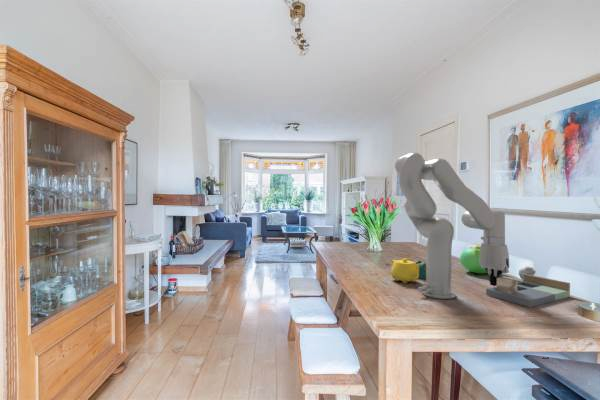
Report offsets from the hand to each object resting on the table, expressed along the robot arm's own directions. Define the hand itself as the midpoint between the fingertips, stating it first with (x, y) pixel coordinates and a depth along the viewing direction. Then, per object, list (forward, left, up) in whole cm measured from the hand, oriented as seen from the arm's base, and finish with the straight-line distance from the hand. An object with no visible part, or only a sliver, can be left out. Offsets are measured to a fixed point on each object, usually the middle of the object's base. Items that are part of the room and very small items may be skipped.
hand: (494, 284), depth 127 cm
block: (0, -5, -1) cm, 5 cm away
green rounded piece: (+29, +26, -4) cm, 39 cm away
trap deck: (+10, -7, -4) cm, 13 cm away
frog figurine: (+34, +6, -4) cm, 34 cm away
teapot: (-18, +31, -4) cm, 36 cm away
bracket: (+1, +33, -4) cm, 34 cm away
